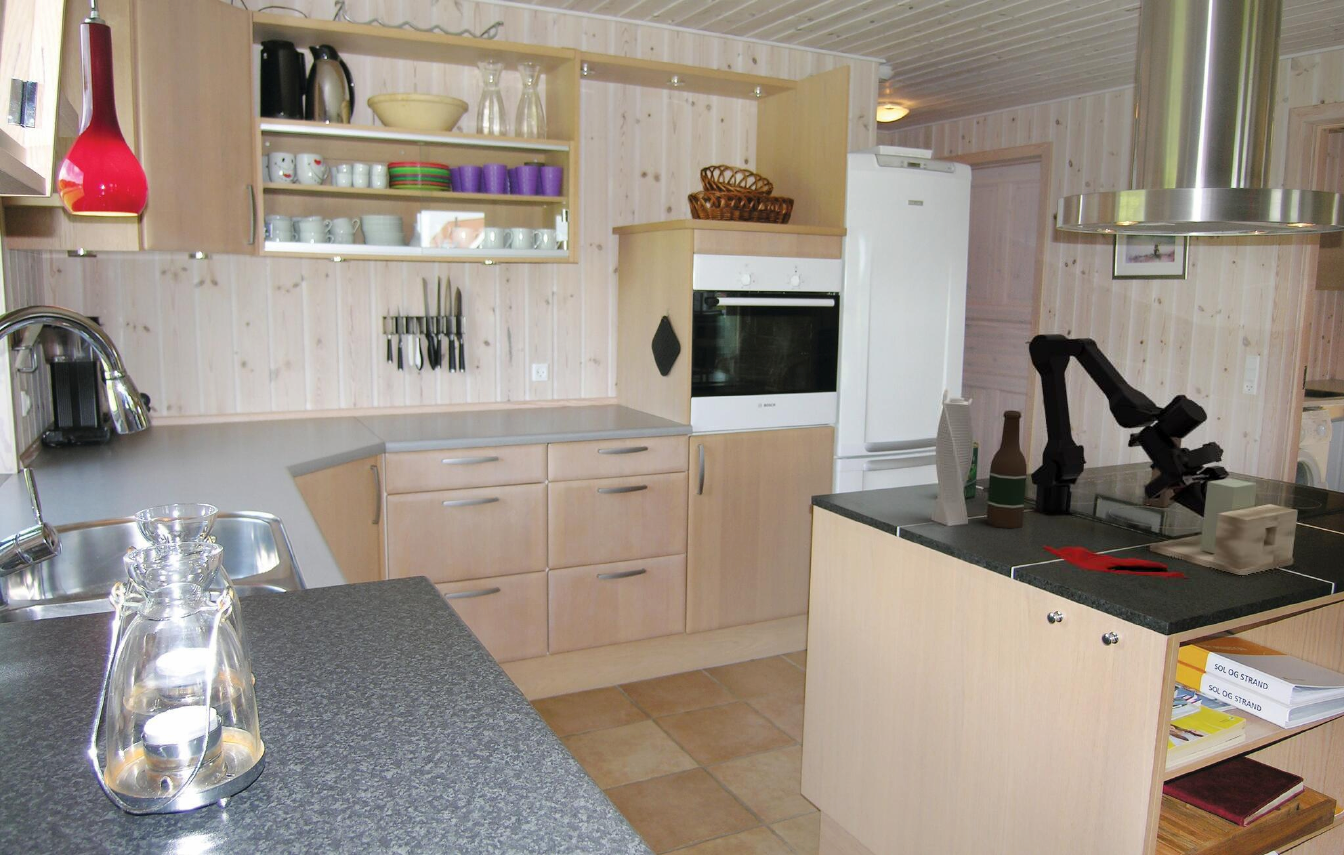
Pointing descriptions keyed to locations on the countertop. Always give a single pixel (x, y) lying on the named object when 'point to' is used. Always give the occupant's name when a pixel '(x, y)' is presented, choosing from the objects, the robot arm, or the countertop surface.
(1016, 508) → the beer bottle
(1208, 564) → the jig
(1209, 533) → the block
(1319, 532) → the countertop surface
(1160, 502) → the wooden block
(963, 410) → the skyscraper
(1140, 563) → the cloth
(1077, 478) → the robot arm
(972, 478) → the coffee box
